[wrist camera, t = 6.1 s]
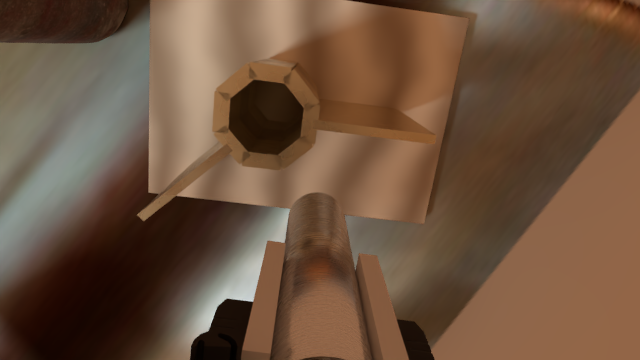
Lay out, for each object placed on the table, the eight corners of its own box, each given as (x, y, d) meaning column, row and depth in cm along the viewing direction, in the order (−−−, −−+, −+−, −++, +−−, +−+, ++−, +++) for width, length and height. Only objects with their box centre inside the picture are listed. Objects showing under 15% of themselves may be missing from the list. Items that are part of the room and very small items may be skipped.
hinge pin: (281, 242, 24) (242, 484, 11) (289, 184, 23) (258, 372, 10) (342, 251, 24) (378, 497, 11) (353, 193, 23) (408, 389, 10)
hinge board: (153, 188, 42) (148, 192, 41) (155, -26, 36) (150, -28, 35) (420, 219, 44) (423, 223, 43) (464, 19, 38) (469, 18, 37)
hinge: (190, 168, 40) (137, 220, 28) (195, 48, 37) (137, 46, 25) (381, 190, 41) (411, 250, 29) (402, 76, 38) (446, 88, 26)
